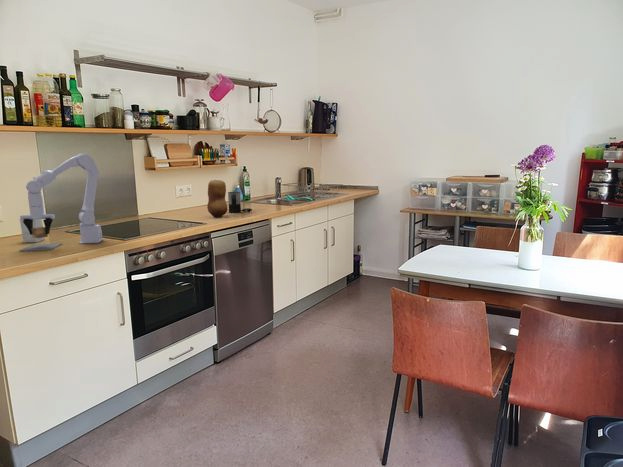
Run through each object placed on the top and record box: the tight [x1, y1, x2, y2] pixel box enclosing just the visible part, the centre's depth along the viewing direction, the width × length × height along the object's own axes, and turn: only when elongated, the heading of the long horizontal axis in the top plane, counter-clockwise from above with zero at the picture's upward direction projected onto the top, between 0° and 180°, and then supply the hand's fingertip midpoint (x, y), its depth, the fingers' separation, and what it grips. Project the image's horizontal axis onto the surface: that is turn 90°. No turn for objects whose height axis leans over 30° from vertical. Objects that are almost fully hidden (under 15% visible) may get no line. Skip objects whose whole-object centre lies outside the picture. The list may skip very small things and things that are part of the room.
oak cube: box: [31, 226, 49, 238], centre depth 218 cm, size 5×5×5 cm
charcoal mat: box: [18, 242, 63, 253], centre depth 220 cm, size 14×14×1 cm
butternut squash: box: [206, 179, 229, 219], centre depth 306 cm, size 14×13×25 cm
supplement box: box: [19, 217, 46, 244], centre depth 235 cm, size 7×7×13 cm
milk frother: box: [227, 191, 253, 214], centre depth 329 cm, size 14×16×15 cm
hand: (39, 234), depth 218 cm, fingers closed on oak cube, 6 cm apart
